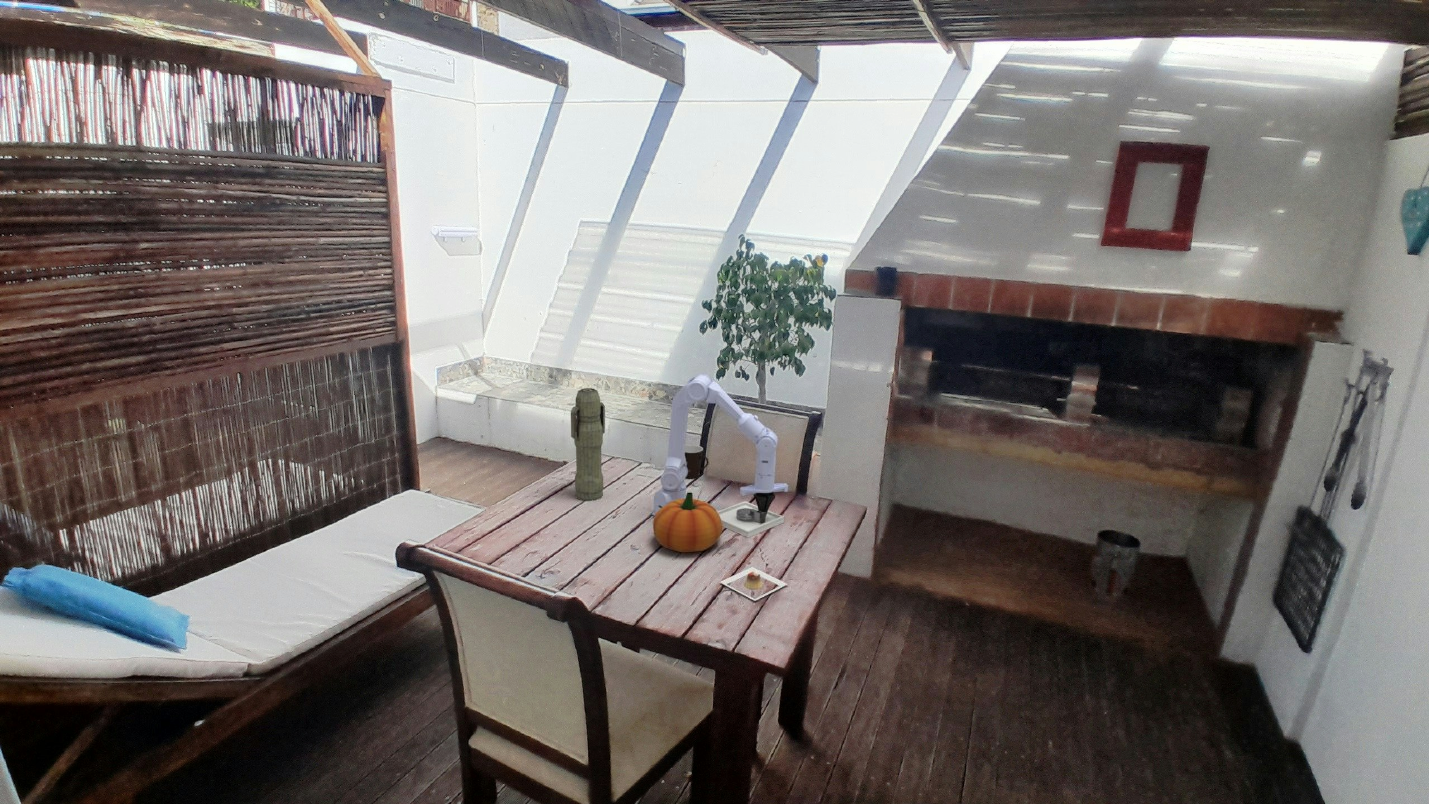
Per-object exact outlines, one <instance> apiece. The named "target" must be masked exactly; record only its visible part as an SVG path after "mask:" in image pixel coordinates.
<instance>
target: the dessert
mask: <svg viewBox="0 0 1429 804" xmlns="http://www.w3.org/2000/svg"><path fill="white" fill-rule="evenodd" d="M743 577H746V579H745V580H744V581H745V582H744V587H745V588H746V589H749V590H753V591H754V590H755V591H756V590H760V589H762V588H763V582H762V578H763V579H765V580H767V581H770V582H771V583H773V584H775V585H778V586H777V587H775V588H774V589H772V590H770V591H768V592H766V593H764V594H761V595H759V596H758V597H756V598H754V597H751V596H750V595H749V594H746V593H744V592H742V591H740V590H739V589H736V588H734V587H733V586H730V585H728V584H730V583H732V582H735V581H737V580H738V579H742V578H743ZM719 583H720V584H722V585H723V586H726V587H727V588H729V589H731V590H733V591H736V592H737V593H739V594H741V595H743V596H745V597H747V598H749V599H750V600H751V601H758V600H760V599H762V598H764V597H766V596H768V595H770V594H772V593H773V592H776V591H778V590H779V589H782V588H784V587H785V586H787V585H788V583H786V582H785V581H783V580H780V579H778V578H776V577H774V576H772V575H770V574H769V573H766V572H764V571H761V570H760V569H757V568H755V567H754V566H751V567H749V568H746V569H744V570H742V571H740V572H738V573H736V574H734V575H731V576H730V577H727V578H725V579H723V580H721V581H719Z"/></svg>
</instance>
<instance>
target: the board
mask: <svg viewBox="0 0 1429 804" xmlns="http://www.w3.org/2000/svg"><path fill="white" fill-rule="evenodd" d="M742 508H749V509H755V510H758V506H757V504H753V503H751V502H748V501H742V502H739V503H736V504H734V505H731V506H728V507H726V508H723V509H720V510H716V511H717V513H718V514H719V516H720V518H721V522H722V528H725V529H728V530H730V531H732V532H735V533H737V534H739V535H741V536H743V537H746V538H750V537H752V536H754V535H758V534H759V533H761V532H764V531H767V530H770V529H772V528H774V527H776V526H779V525H781V524H783V523H785V516H784V515H782V514H781V515H780V514H779V513H775V512H773V511H771V510H770V509H768V512H767V515H766V522H765V523H760V522H758V521H755V520H750V521H745V520H740V519H738V518H737V517H736V513H737V510H739V509H742Z"/></svg>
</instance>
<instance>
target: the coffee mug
mask: <svg viewBox="0 0 1429 804" xmlns="http://www.w3.org/2000/svg"><path fill="white" fill-rule="evenodd" d="M703 452H704V447H702V446H701V445H696V444H695V445H694V444H685V458H686V467H687V469H688V474H687V476H686V478H685V479H686V480H695V479H698V478H699V477H700V472H701V471H702V470H704V469H706V468H707V466H708V465H709V458H708V457H707V456H705V455H703ZM703 458H704V459H705V461H706V464H705V466H703V467H701V466H702V459H703ZM685 479H684V480H685Z"/></svg>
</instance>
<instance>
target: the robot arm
mask: <svg viewBox="0 0 1429 804" xmlns="http://www.w3.org/2000/svg"><path fill="white" fill-rule="evenodd" d="M705 399H706V400H705ZM704 400H705V403H706V404H716V405H718V406H719V407H720V408H721V409H722V410H723V411H725V412H726V413H727V414H728V416H730V417H731V418H732V419H734V420H735V422H736V423H737V424H736V427H737V429H738V430H739V431H740V432H741V433H742V434H743V435H745V437H747V438H748V440H750V442H752V443H753V444H754V445H755V449H756V451H757V454H756V458H755V461H756V462H755V473H754V474H755V475H754V476H755V477H754V484H750V485H746V486H741V487H740V488H739V494H740V495H741V496H742V497H745V496H746V495H753V497H754V499H755V502H756V506H758V511H766V515H767V512H768V510H770V507H771V504H772V503H773V502H774V501H775V499H776V494H775V493H778V492H784V493H787V492H789V485H788V484H787V483H785V482H784V483H780V482H779V483H777V482H776V483H775V479H776V478H775V477H776V465H777V456H776V455H777V452H776V451H777V446H778V442H779V440H778V439H779V437H778V435H777V434H776V432H775V431H773V430H772V429H770V428H769V427H766V426H765V425H764V424H763V423H762V422H761V421H759V417H758V415H756V414H755V415H753V414H752V413H747V412H746V413H745V412H744V411H743V410H742V408H741V407H740V406H739V405H738V404H737V403H736V402H735V401H734V400H733V399H732V398H731V397H730V395H728V394H727V392H725V391H724V390H723V388H722V387H721V386H720V384H718V383H717V382H716V381H715V380H713V379H712V377H710V376H709V375H708V374H705V373H699V374H697V375H695V376H694V377H692V378H690V379H689V380H688V381H687V383H685V384H684V385H683V386H682V388H681V389H680V390H679V391H678V392H677V393H676V394H675V396H673V398H672V401H671V414H670V423H669V424H670V425H669V426H670V428H669V437H668V447H667V448H668V451H667V459H666V462H665V464H664V470H663V473H662V474H661V476H660V483H661V488H660V489H659V490H657V491H655V493H654V495H653V512H652V513H651V515H652V516H654V517H655V514H656V513H657V512H658V511H659V510H660V509H661V508H662V507H664V506H665V505H667V504H668V503H670V502H672V501H675V500H677V499H686V495H687V484H686V481H685V478H686V476H687V474H688V469H687V467H686V458H685V445H687V444H686V442H687V431H688V420H689V407H690V406H692V405H693V404H695V403H700V402H702V401H704Z"/></svg>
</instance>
